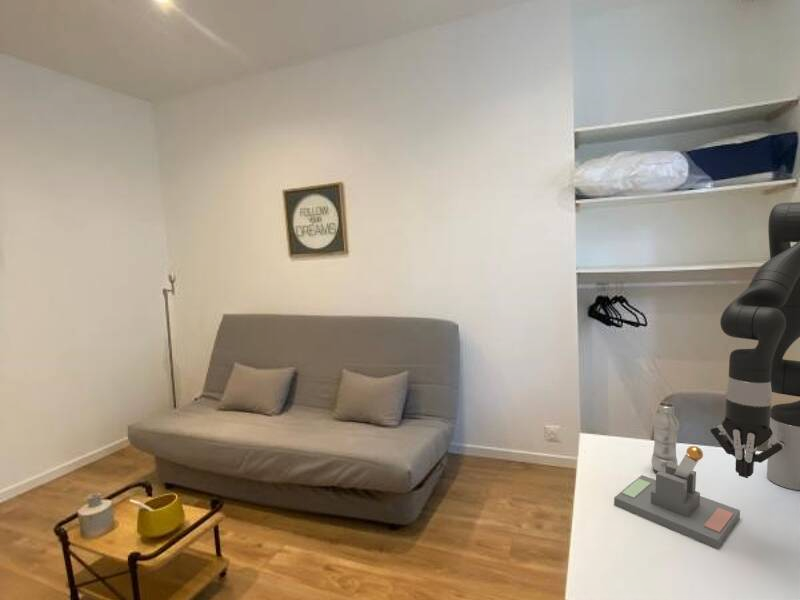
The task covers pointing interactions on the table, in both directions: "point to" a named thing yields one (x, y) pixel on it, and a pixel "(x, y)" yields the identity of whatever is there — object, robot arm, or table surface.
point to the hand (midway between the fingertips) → (743, 475)
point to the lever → (688, 462)
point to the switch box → (679, 506)
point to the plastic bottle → (664, 437)
